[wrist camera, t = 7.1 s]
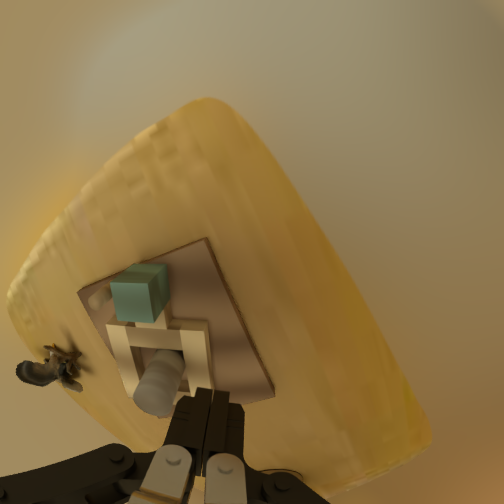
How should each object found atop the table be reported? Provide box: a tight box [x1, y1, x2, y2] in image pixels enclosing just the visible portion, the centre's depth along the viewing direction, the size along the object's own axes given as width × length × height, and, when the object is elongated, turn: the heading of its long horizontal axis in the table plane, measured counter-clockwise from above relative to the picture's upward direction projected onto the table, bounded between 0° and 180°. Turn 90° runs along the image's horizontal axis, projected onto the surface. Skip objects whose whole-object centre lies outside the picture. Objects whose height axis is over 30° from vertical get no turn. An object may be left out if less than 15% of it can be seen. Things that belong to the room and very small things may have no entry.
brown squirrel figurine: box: [16, 343, 83, 393], centre depth 24 cm, size 8×7×9 cm
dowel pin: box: [88, 278, 115, 311], centre depth 20 cm, size 1×1×4 cm
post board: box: [77, 237, 275, 418], centre depth 21 cm, size 17×14×8 cm
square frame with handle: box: [106, 264, 215, 405], centre depth 21 cm, size 14×9×4 cm, turn 1°
